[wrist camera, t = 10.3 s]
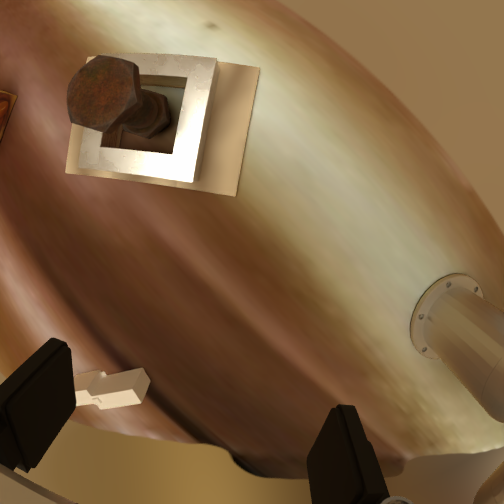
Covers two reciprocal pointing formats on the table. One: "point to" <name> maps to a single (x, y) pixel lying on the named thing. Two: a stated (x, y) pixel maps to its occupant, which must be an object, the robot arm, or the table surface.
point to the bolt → (115, 99)
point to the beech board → (217, 141)
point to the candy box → (5, 109)
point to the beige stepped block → (111, 388)
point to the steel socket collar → (189, 126)
